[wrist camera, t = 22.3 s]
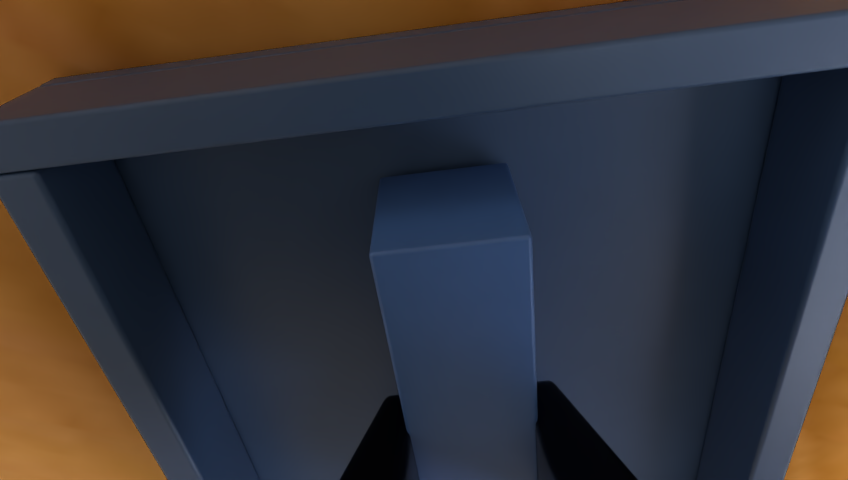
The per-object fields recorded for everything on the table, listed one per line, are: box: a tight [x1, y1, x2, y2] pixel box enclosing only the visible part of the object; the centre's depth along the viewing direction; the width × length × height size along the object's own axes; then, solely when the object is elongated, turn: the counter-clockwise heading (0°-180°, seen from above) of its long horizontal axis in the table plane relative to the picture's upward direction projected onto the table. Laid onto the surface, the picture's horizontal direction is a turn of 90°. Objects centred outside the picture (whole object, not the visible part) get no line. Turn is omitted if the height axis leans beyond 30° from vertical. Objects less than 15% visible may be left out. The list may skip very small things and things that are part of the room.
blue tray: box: [0, 0, 848, 480], centre depth 10 cm, size 13×10×2 cm
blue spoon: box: [369, 163, 538, 480], centre depth 9 cm, size 8×3×2 cm, turn 7°
